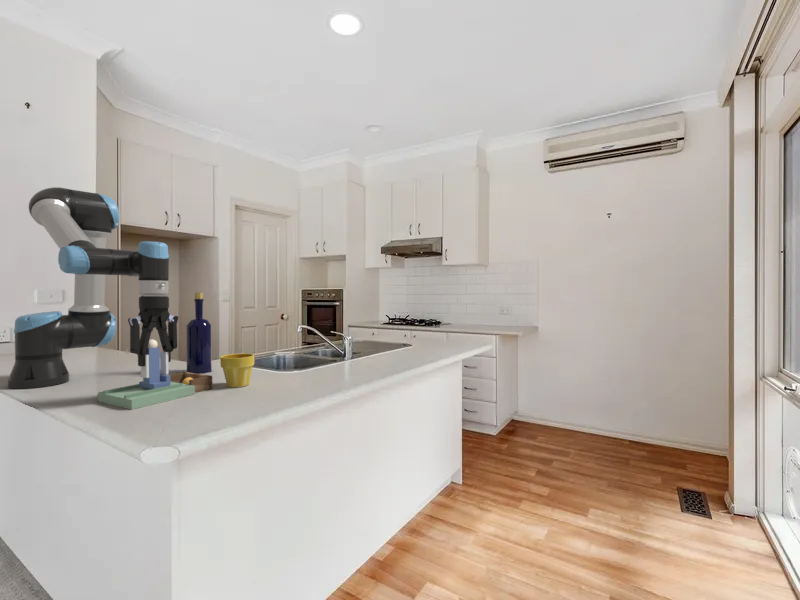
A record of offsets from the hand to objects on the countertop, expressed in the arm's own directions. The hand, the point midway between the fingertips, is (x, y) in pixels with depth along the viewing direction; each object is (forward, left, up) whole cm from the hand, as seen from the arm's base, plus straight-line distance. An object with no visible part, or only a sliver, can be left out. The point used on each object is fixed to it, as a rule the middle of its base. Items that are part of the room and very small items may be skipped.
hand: (155, 375), depth 119 cm
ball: (0, +11, -4) cm, 11 cm away
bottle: (-21, +30, -6) cm, 37 cm away
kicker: (0, 0, -4) cm, 4 cm away
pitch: (0, -2, -6) cm, 6 cm away
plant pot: (+10, +21, -6) cm, 24 cm away
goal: (0, +11, -6) cm, 12 cm away
